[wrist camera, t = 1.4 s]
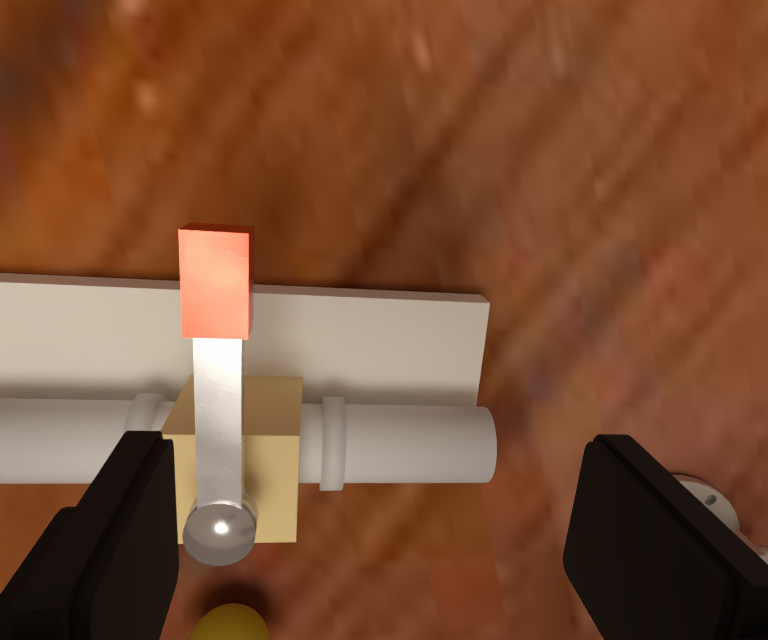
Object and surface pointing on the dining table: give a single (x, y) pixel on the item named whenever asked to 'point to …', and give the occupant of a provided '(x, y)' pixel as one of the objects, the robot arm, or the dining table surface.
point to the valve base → (280, 341)
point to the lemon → (231, 624)
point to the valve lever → (218, 385)
